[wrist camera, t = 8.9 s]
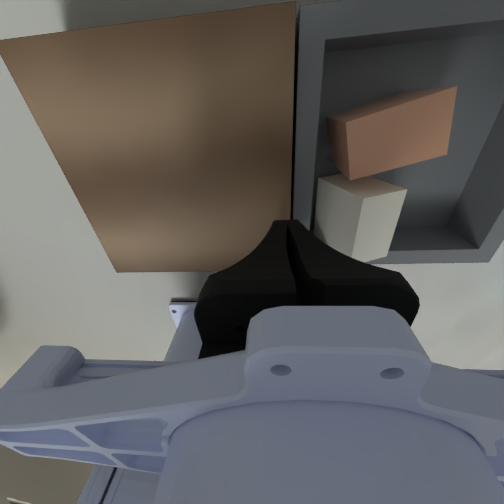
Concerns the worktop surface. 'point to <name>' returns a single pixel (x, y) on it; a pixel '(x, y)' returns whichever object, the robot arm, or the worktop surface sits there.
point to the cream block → (357, 215)
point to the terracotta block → (391, 131)
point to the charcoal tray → (396, 80)
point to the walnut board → (170, 130)
